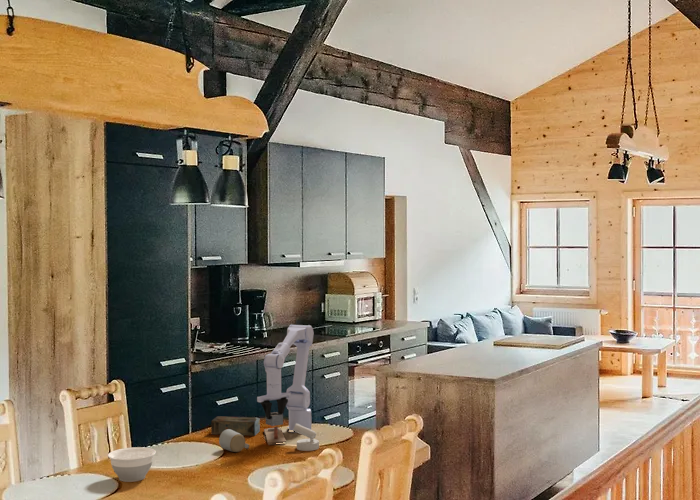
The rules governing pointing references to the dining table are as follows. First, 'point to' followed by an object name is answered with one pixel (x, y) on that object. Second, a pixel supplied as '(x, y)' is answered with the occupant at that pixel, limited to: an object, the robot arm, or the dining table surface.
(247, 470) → the dining table surface
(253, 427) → the beverage carton
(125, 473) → the bowl
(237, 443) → the ceramic mug
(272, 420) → the open square sleeve
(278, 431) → the board
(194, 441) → the dining table surface
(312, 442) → the white round-based angled piece
